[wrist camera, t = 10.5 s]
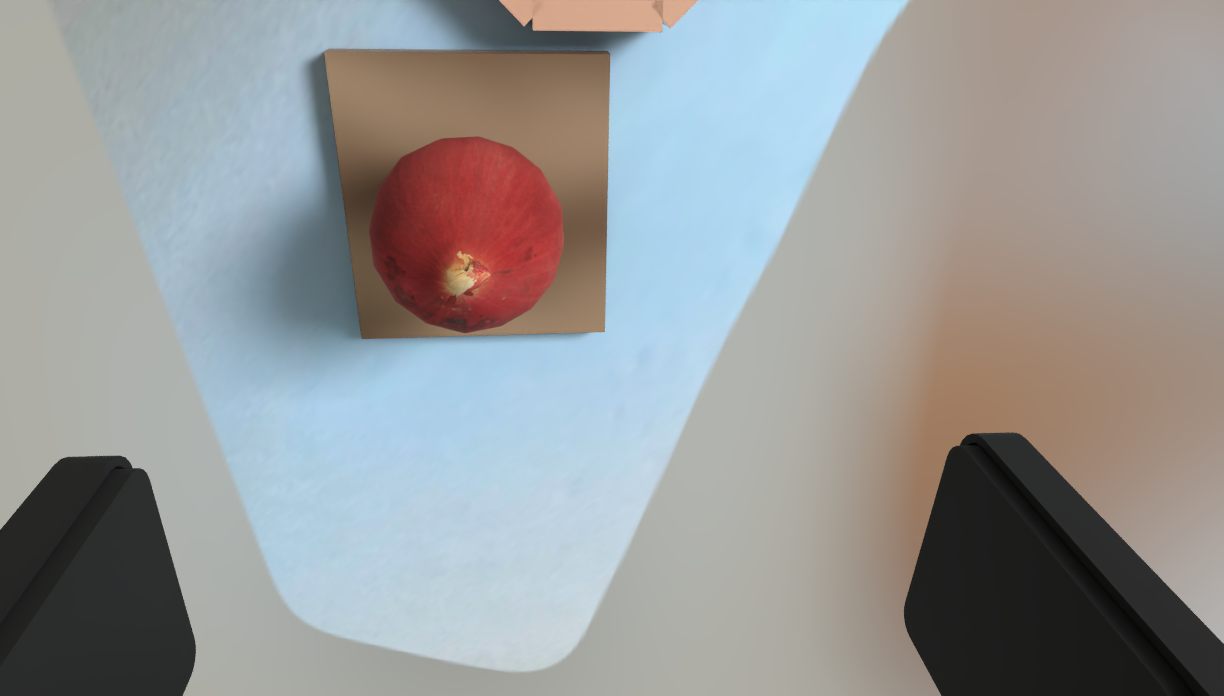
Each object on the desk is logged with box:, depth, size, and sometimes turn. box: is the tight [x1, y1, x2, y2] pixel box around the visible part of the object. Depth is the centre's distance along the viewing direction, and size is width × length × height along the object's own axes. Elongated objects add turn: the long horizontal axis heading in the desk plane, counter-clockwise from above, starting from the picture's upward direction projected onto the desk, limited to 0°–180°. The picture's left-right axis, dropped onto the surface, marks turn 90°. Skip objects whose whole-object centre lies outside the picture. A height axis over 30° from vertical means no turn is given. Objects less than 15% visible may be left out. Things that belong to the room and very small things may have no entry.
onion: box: [369, 136, 564, 333], centre depth 24 cm, size 6×6×8 cm
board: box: [324, 49, 610, 339], centre depth 28 cm, size 10×9×1 cm
